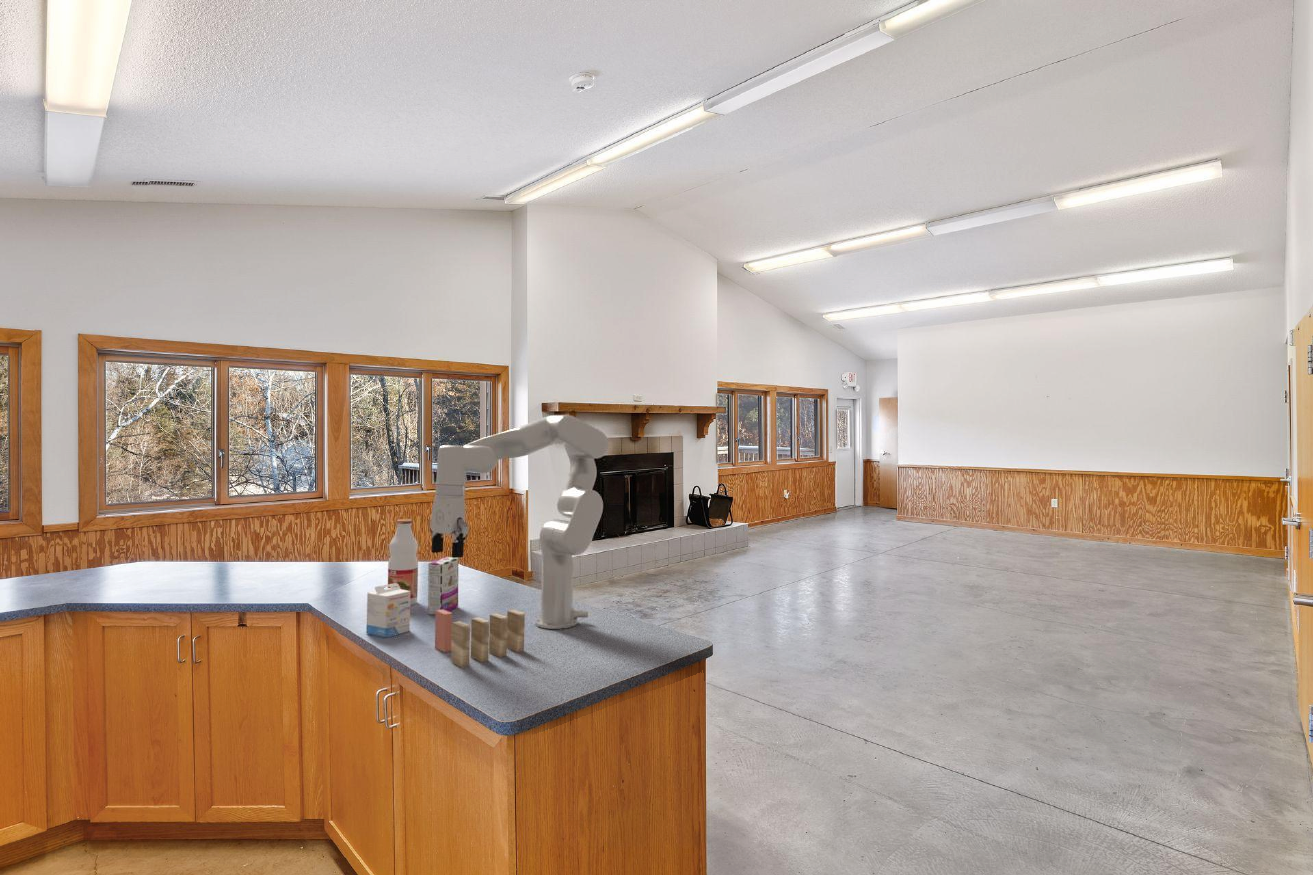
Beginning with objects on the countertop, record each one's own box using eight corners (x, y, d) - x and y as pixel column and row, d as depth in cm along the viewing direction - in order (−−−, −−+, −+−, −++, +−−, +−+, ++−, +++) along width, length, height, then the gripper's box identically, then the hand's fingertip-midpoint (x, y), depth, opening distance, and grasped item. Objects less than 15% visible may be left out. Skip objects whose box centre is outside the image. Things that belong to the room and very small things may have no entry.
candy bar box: (444, 605, 223) (445, 556, 223) (458, 607, 222) (459, 557, 222) (426, 614, 212) (427, 562, 212) (441, 615, 211) (442, 563, 211)
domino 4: (495, 650, 178) (496, 613, 178) (506, 655, 175) (507, 617, 175) (489, 652, 177) (489, 614, 177) (500, 657, 174) (500, 618, 174)
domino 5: (512, 646, 183) (513, 609, 182) (523, 650, 179) (524, 613, 179) (506, 648, 181) (507, 610, 181) (517, 652, 178) (518, 614, 178)
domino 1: (441, 646, 181) (442, 609, 181) (451, 650, 178) (452, 612, 178) (434, 648, 180) (435, 610, 180) (444, 652, 176) (445, 614, 176)
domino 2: (458, 660, 170) (459, 621, 170) (469, 665, 167) (470, 625, 167) (451, 662, 169) (452, 622, 169) (461, 667, 166) (462, 626, 166)
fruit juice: (423, 602, 227) (425, 519, 227) (401, 608, 219) (403, 522, 219) (403, 598, 231) (405, 517, 231) (380, 604, 223) (382, 520, 223)
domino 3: (477, 655, 174) (478, 617, 174) (488, 660, 171) (489, 620, 171) (470, 657, 173) (471, 618, 173) (481, 662, 170) (482, 622, 170)
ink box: (385, 638, 187) (386, 590, 187) (365, 633, 191) (366, 586, 191) (410, 630, 195) (411, 584, 195) (390, 626, 199) (391, 580, 199)
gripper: (420, 489, 184) (417, 551, 184) (456, 493, 173) (452, 560, 173) (445, 488, 190) (441, 549, 190) (481, 493, 179) (477, 558, 178)
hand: (447, 554), depth 181 cm, fingers open, 9 cm apart
